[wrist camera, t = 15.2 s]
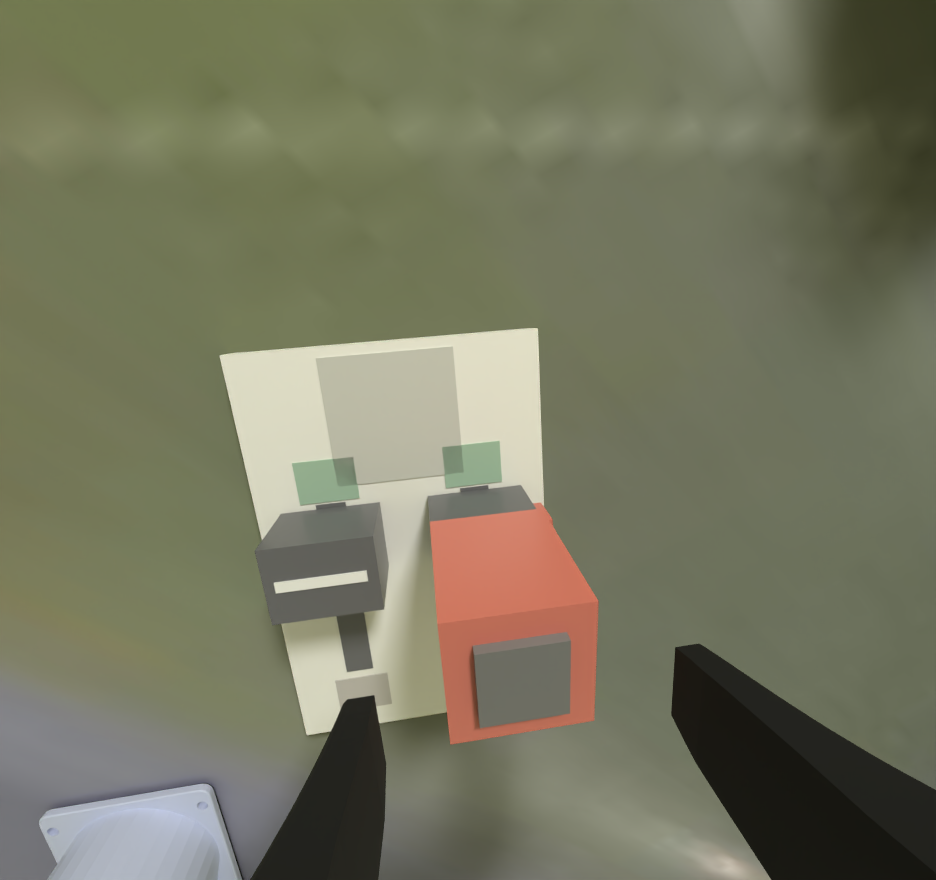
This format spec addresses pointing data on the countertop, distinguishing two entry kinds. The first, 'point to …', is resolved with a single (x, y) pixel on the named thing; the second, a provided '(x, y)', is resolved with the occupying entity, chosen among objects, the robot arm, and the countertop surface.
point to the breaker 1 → (324, 563)
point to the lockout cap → (512, 626)
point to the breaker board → (384, 484)
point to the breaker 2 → (481, 503)
